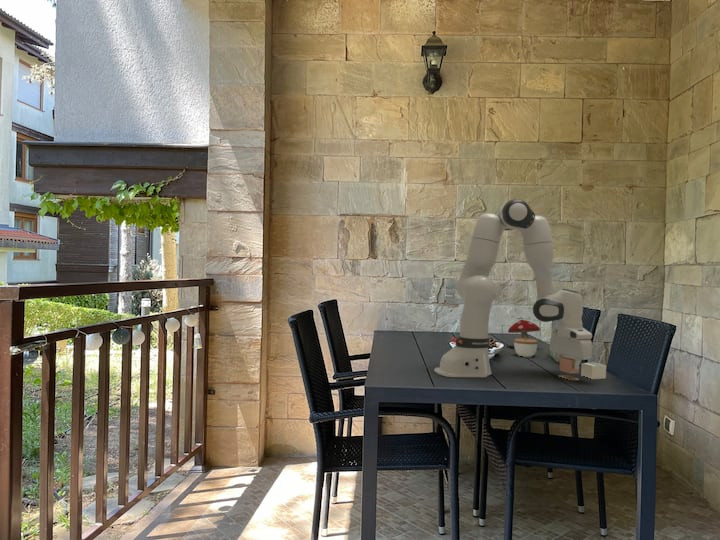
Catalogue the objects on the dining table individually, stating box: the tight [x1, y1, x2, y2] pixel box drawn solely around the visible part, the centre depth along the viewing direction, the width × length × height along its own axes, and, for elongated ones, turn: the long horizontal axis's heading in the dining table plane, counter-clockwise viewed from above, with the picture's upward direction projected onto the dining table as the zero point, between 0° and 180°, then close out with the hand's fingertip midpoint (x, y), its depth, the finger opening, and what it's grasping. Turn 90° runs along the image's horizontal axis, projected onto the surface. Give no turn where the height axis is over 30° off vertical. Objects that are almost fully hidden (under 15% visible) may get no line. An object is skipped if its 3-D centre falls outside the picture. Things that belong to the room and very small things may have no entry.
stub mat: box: [558, 374, 580, 381], centre depth 199 cm, size 4×7×1 cm, turn 16°
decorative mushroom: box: [507, 319, 541, 339], centre depth 270 cm, size 16×16×15 cm
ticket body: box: [580, 362, 607, 380], centre depth 202 cm, size 6×6×5 cm
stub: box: [559, 357, 580, 374], centre depth 199 cm, size 4×6×5 cm, turn 17°
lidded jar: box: [513, 337, 538, 358], centre depth 246 cm, size 11×11×9 cm
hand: (569, 367), depth 199 cm, fingers closed on stub, 6 cm apart
